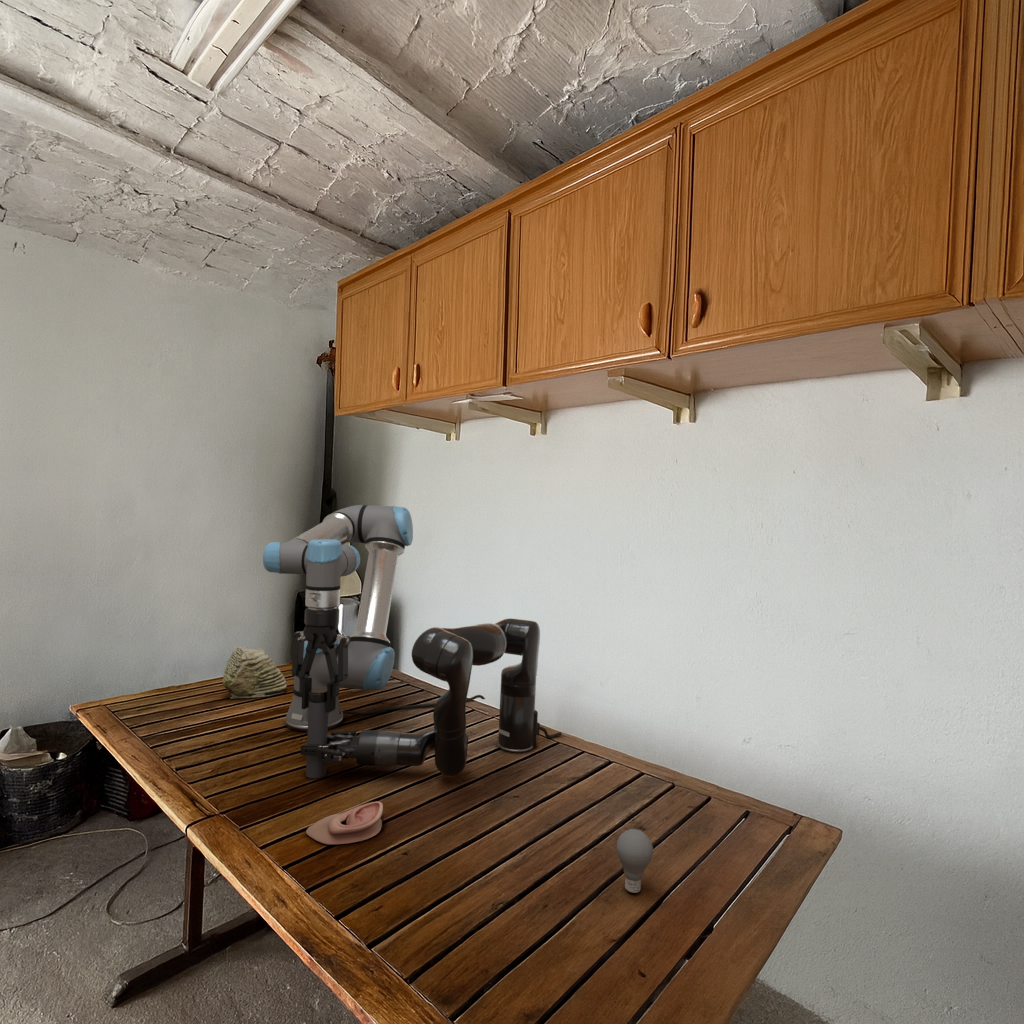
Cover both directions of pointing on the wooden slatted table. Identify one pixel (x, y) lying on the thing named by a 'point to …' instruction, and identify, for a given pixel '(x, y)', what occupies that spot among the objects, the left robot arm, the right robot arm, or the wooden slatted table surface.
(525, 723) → the right robot arm
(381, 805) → the anatomical model
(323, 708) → the bottle
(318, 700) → the lid
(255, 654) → the fossil
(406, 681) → the wooden slatted table surface
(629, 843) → the light bulb
